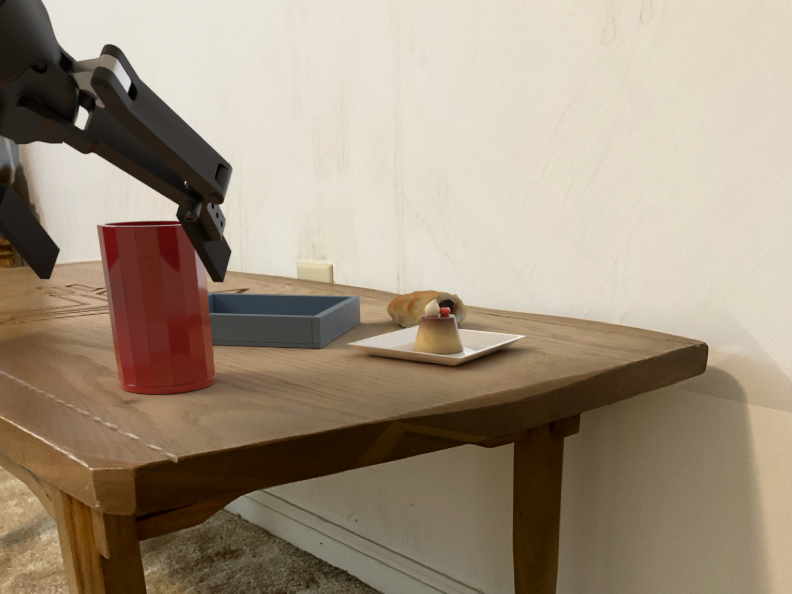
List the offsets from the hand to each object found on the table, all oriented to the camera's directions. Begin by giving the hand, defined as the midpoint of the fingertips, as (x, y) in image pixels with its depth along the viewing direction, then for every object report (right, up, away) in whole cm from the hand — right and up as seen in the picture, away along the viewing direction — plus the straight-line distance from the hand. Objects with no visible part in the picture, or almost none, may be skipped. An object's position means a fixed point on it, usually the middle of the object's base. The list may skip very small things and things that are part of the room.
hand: (134, 265), depth 61 cm
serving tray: (+4, +2, +27) cm, 28 cm away
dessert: (+23, -3, +17) cm, 29 cm away
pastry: (+22, +3, +31) cm, 38 cm away
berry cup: (+1, -7, +7) cm, 10 cm away
